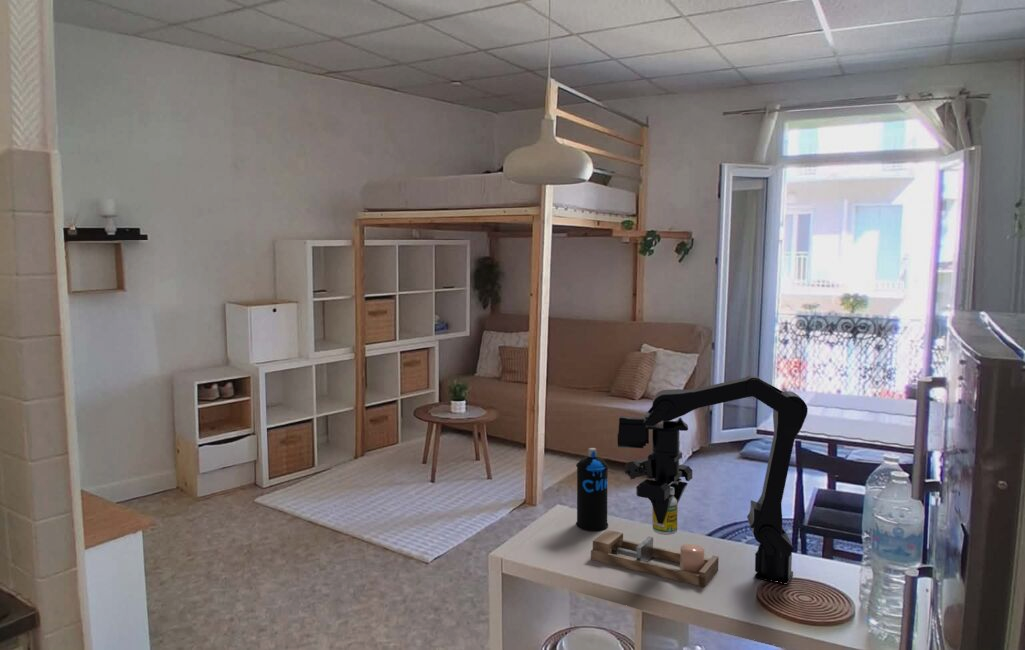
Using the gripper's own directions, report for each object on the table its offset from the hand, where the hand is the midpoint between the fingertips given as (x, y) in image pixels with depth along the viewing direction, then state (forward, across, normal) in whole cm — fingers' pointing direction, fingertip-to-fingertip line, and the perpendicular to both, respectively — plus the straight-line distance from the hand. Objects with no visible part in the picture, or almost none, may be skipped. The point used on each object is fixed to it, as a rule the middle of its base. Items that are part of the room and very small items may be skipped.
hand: (665, 519), depth 152 cm
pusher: (+11, 0, -8) cm, 13 cm away
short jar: (+11, 0, +6) cm, 12 cm away
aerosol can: (+11, -14, -25) cm, 30 cm away
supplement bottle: (+3, 0, 0) cm, 3 cm away
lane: (+11, 0, -3) cm, 11 cm away
